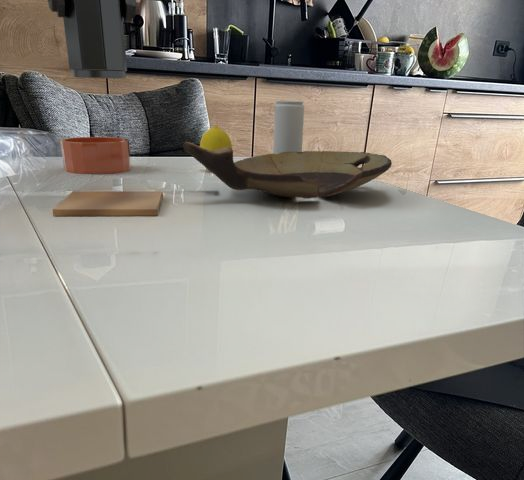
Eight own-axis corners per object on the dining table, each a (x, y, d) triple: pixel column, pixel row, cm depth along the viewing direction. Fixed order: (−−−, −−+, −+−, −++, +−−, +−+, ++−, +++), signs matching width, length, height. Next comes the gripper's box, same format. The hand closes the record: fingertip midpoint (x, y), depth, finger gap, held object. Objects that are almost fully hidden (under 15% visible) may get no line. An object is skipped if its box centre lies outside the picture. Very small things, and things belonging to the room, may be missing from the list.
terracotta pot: (58, 178, 88) (53, 142, 85) (72, 169, 97) (68, 136, 95) (127, 179, 89) (124, 143, 87) (134, 169, 99) (131, 137, 96)
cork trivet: (53, 216, 64) (52, 209, 63) (73, 197, 74) (73, 191, 74) (157, 215, 65) (156, 209, 65) (163, 197, 76) (162, 191, 75)
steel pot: (66, 77, 61) (53, -31, 57) (77, 77, 66) (66, -21, 62) (123, 78, 62) (114, -29, 57) (129, 78, 67) (121, -19, 63)
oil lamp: (417, 209, 71) (426, 147, 68) (185, 211, 68) (182, 145, 64) (365, 182, 91) (370, 132, 88) (184, 182, 87) (182, 130, 84)
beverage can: (269, 178, 92) (271, 100, 87) (275, 174, 97) (278, 100, 91) (297, 180, 91) (301, 101, 86) (302, 176, 96) (306, 101, 90)
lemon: (196, 173, 96) (195, 124, 92) (226, 172, 98) (226, 124, 94) (205, 178, 91) (203, 127, 88) (236, 177, 93) (236, 126, 90)
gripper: (-5, -143, 58) (24, -27, 54) (129, -120, 64) (165, -13, 60) (1, -70, 65) (28, 38, 60) (123, -55, 70) (155, 45, 66)
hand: (96, 12), depth 60 cm, fingers closed on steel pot, 6 cm apart
